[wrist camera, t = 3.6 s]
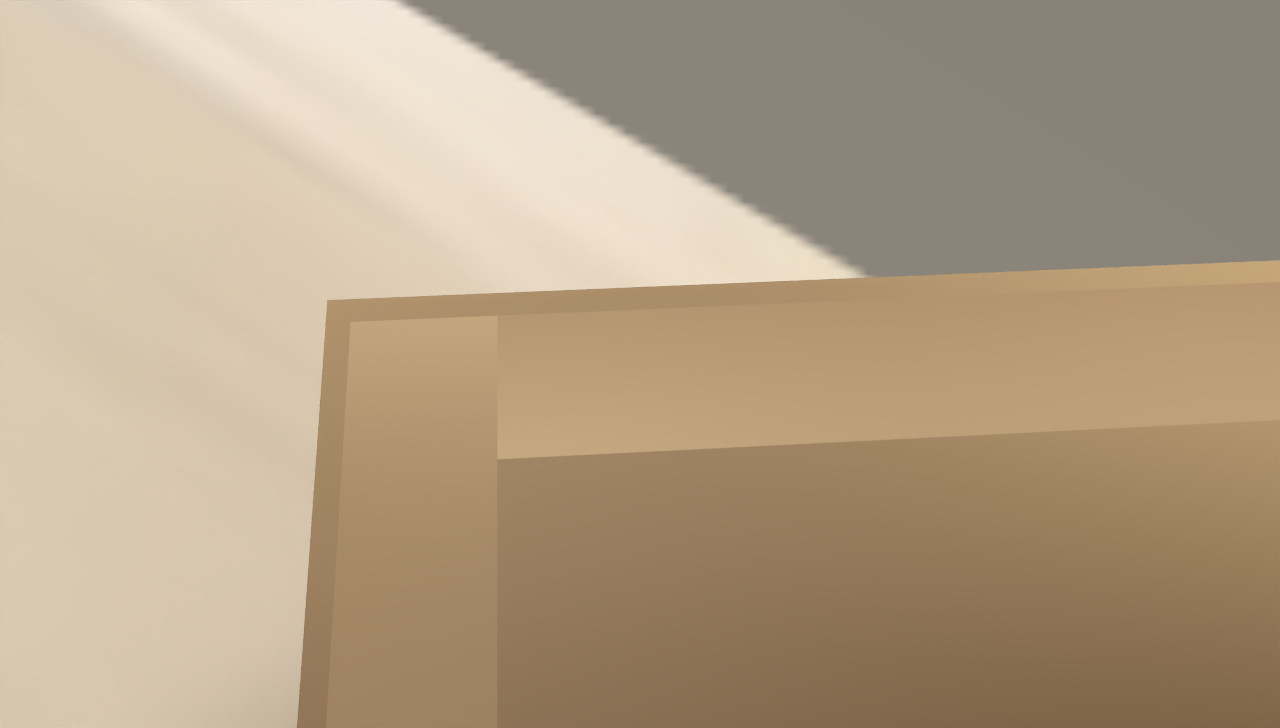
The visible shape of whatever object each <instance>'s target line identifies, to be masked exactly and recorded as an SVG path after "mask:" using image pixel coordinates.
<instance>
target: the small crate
mask: <svg viewBox="0 0 1280 728" xmlns="http://www.w3.org/2000/svg"><path fill="white" fill-rule="evenodd" d="M297 728H1280V261H1257V262H1234V263H1233V262H1232V263H1209V264H1185V265H1164V266H1163V265H1160V266H1139V267H1138V266H1137V267H1112V268H1088V269H1065V270H1041V271H1017V272H993V273H969V274H945V275H922V276H898V277H873V278H849V279H825V280H801V281H778V282H754V283H730V284H706V285H682V286H658V287H634V288H610V289H586V290H562V291H539V292H515V293H491V294H467V295H443V296H419V297H395V298H371V299H347V300H327V314H326V328H325V342H324V356H323V370H322V384H321V399H320V413H319V427H318V441H317V455H316V469H315V483H314V497H313V512H312V526H311V540H310V554H309V568H308V582H307V596H306V610H305V625H304V639H303V653H302V667H301V681H300V695H299V709H298V723H297Z"/></svg>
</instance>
